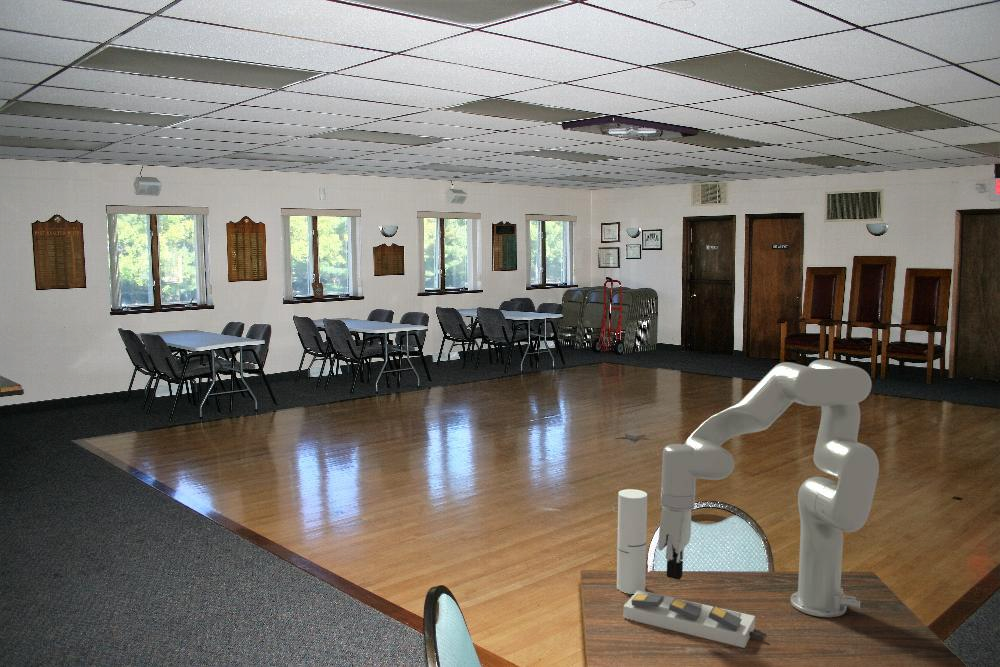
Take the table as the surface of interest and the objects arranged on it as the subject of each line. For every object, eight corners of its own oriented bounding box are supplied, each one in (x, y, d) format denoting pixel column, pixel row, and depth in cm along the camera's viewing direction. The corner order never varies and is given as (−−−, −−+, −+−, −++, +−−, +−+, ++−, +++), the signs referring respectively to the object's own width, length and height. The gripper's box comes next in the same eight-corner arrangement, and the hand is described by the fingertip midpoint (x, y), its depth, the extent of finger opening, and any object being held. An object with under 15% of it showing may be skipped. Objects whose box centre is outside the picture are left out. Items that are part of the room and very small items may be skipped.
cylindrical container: (644, 595, 200) (646, 499, 197) (615, 593, 202) (617, 497, 199) (645, 583, 207) (647, 490, 204) (617, 581, 209) (619, 488, 206)
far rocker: (663, 600, 188) (662, 594, 188) (658, 607, 185) (657, 601, 185) (637, 598, 191) (637, 593, 191) (632, 605, 188) (631, 600, 188)
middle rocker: (700, 613, 184) (701, 608, 184) (695, 620, 180) (697, 615, 180) (674, 602, 187) (675, 597, 187) (668, 609, 183) (669, 604, 183)
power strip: (768, 631, 182) (768, 618, 182) (758, 651, 174) (759, 637, 173) (637, 601, 197) (638, 588, 197) (623, 618, 189) (623, 605, 188)
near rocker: (740, 623, 180) (741, 618, 179) (735, 631, 176) (737, 626, 176) (712, 609, 182) (714, 605, 182) (708, 617, 179) (709, 612, 179)
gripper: (671, 488, 190) (668, 562, 192) (650, 505, 177) (647, 585, 179) (703, 493, 186) (699, 569, 188) (684, 512, 173) (680, 593, 175)
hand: (674, 577), depth 184 cm, fingers closed
